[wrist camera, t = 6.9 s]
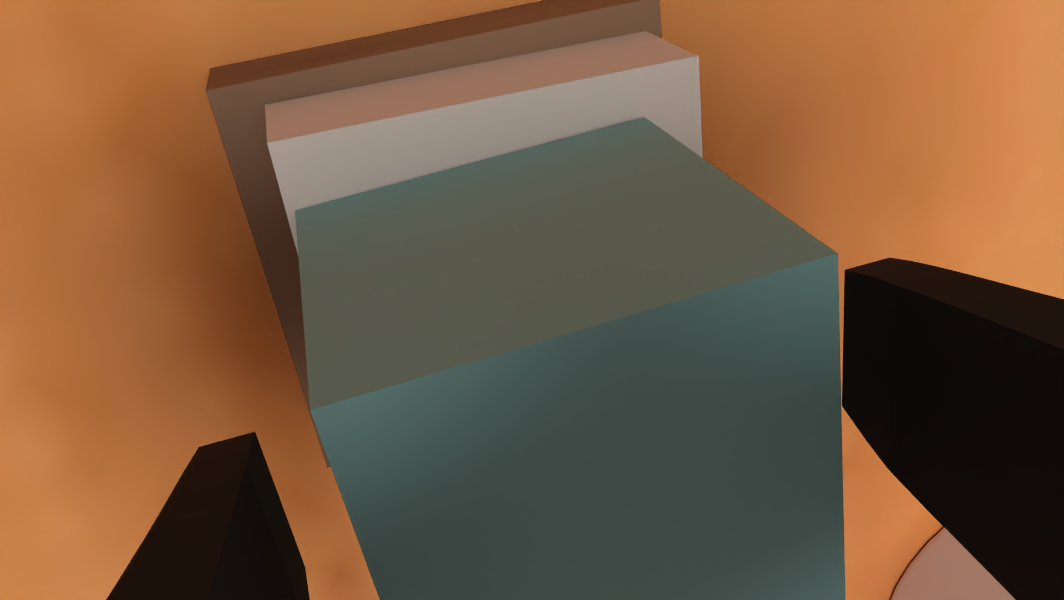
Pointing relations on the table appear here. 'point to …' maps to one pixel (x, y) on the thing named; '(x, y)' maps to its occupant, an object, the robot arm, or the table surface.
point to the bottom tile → (244, 88)
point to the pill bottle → (947, 574)
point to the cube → (579, 379)
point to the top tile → (477, 115)
